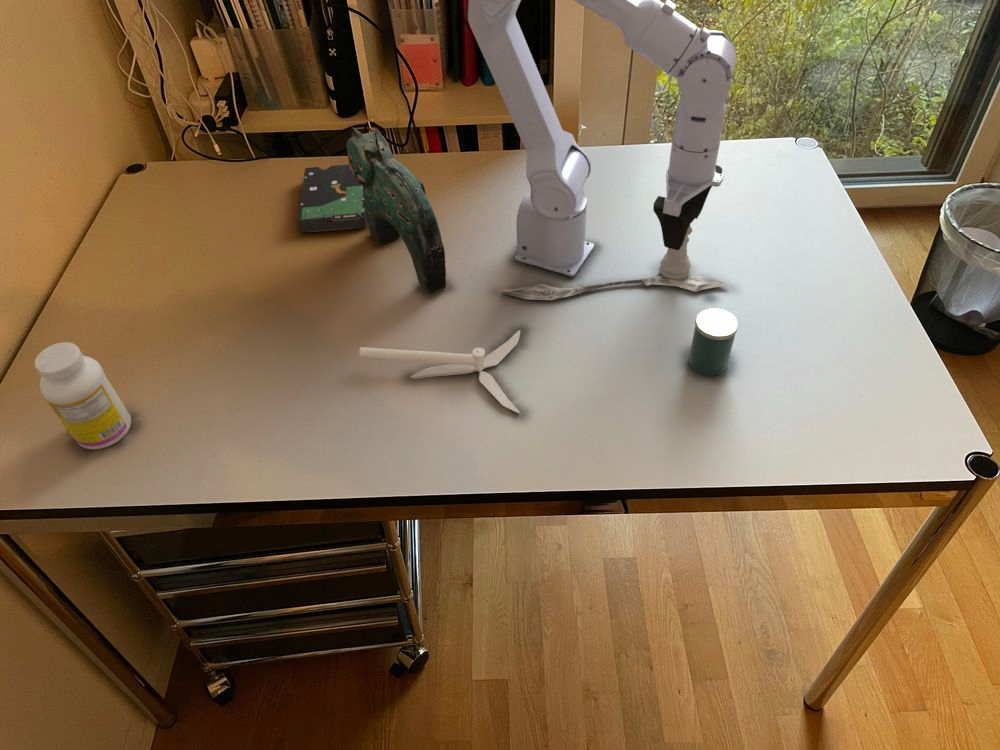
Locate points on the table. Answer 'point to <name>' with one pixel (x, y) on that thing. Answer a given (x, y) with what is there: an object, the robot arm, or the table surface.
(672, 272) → the rook chess piece
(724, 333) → the tin can
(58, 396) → the supplement bottle
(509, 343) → the wind turbine
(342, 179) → the disk drive
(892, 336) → the table surface
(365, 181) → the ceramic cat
